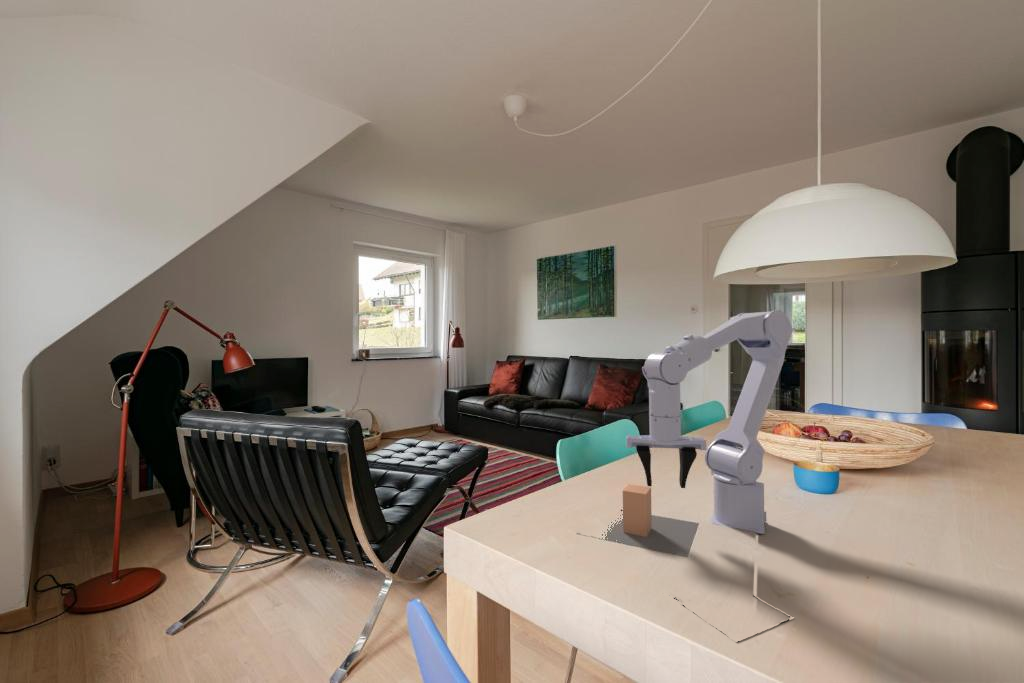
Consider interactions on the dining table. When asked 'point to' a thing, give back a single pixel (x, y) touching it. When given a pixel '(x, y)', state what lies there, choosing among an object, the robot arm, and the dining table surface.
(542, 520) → the dining table surface
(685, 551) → the charcoal mat
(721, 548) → the dining table surface
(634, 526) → the terracotta block
